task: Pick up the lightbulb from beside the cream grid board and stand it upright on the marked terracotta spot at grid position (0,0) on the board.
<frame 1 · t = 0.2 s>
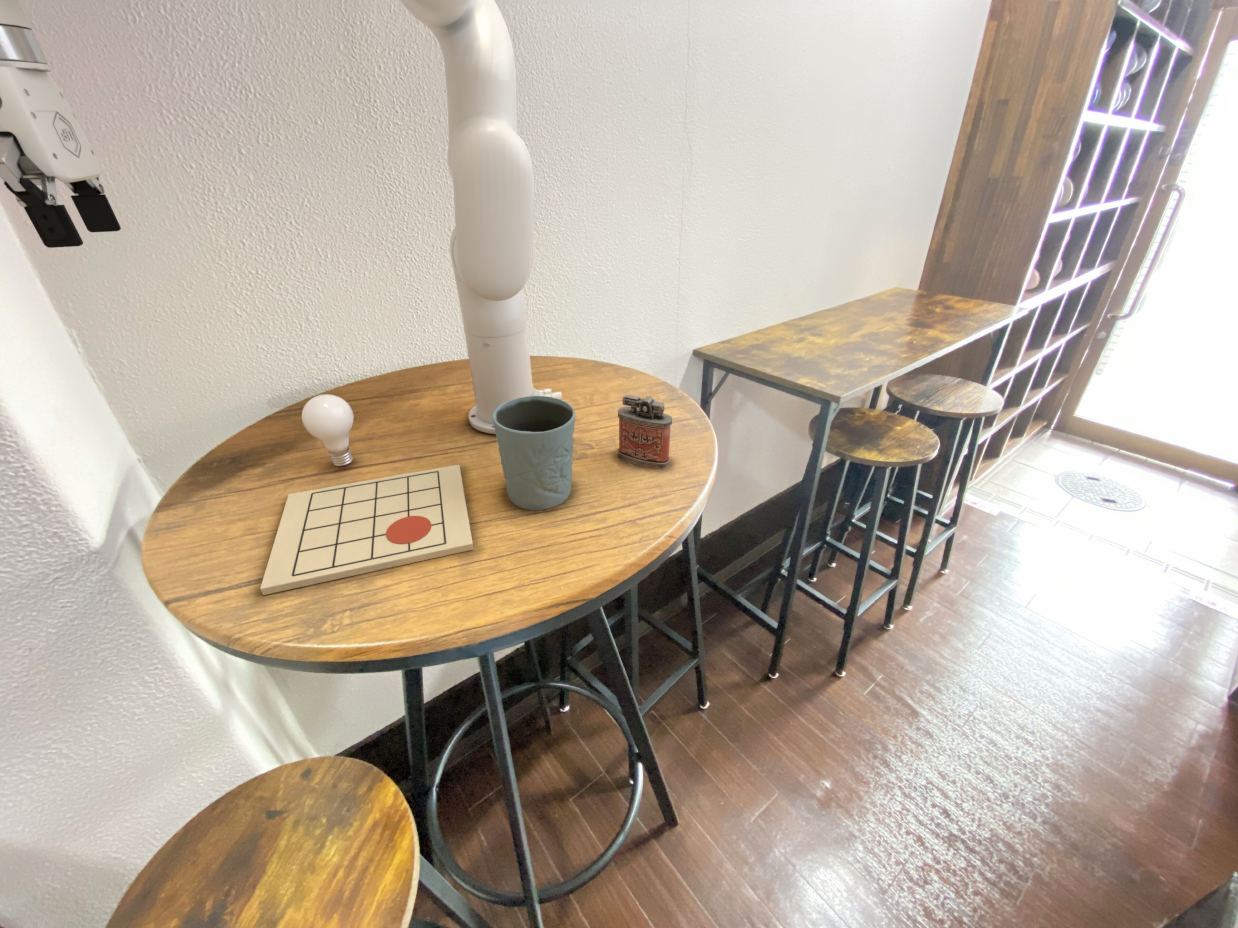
hand: (86, 238, 61), 31 cm above the table, tool pointing down, fingers open, 9 cm apart
board: (376, 523, 67), on the table
lightbulb: (344, 465, 78), on the table
grey green cup: (541, 492, 73), on the table
lighter: (643, 460, 79), on the table
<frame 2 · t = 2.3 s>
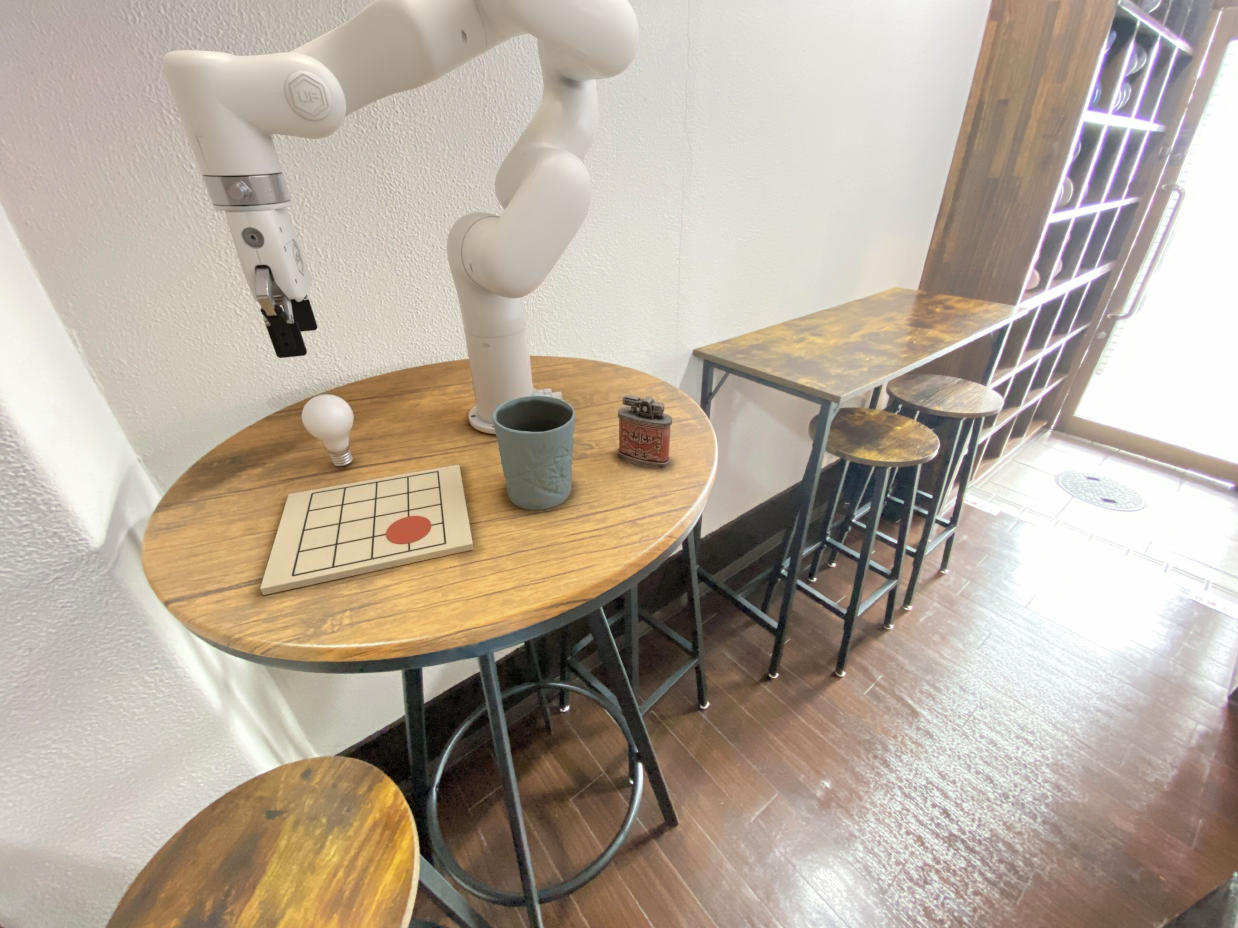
hand: (299, 342, 68), 19 cm above the table, tool pointing down, fingers open, 9 cm apart
nothing on the table moved.
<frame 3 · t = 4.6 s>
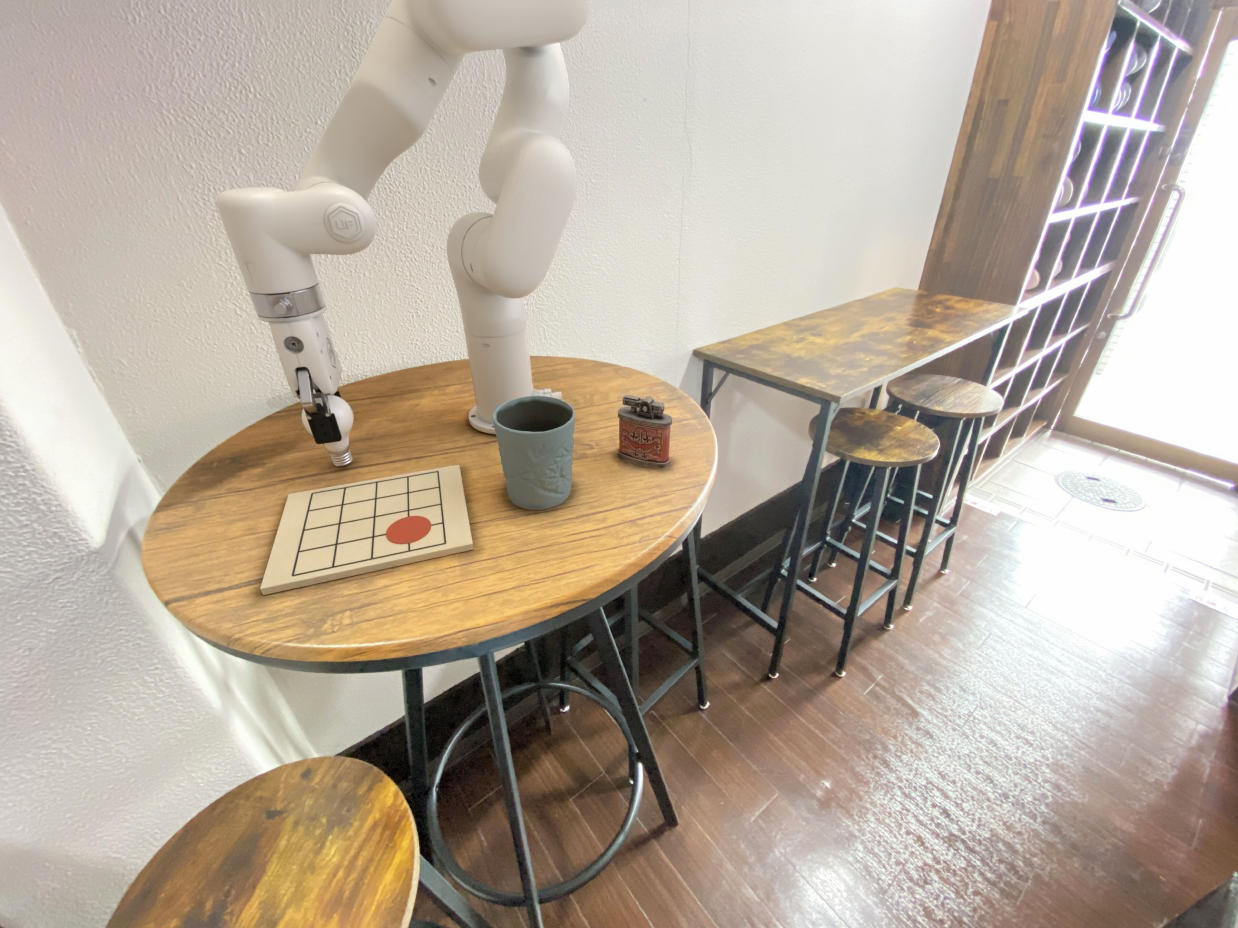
hand: (331, 428, 75), 6 cm above the table, tool pointing down, fingers closed on lightbulb, 6 cm apart
lightbulb: (344, 465, 78), on the table, touching gripper
everything else where it was.
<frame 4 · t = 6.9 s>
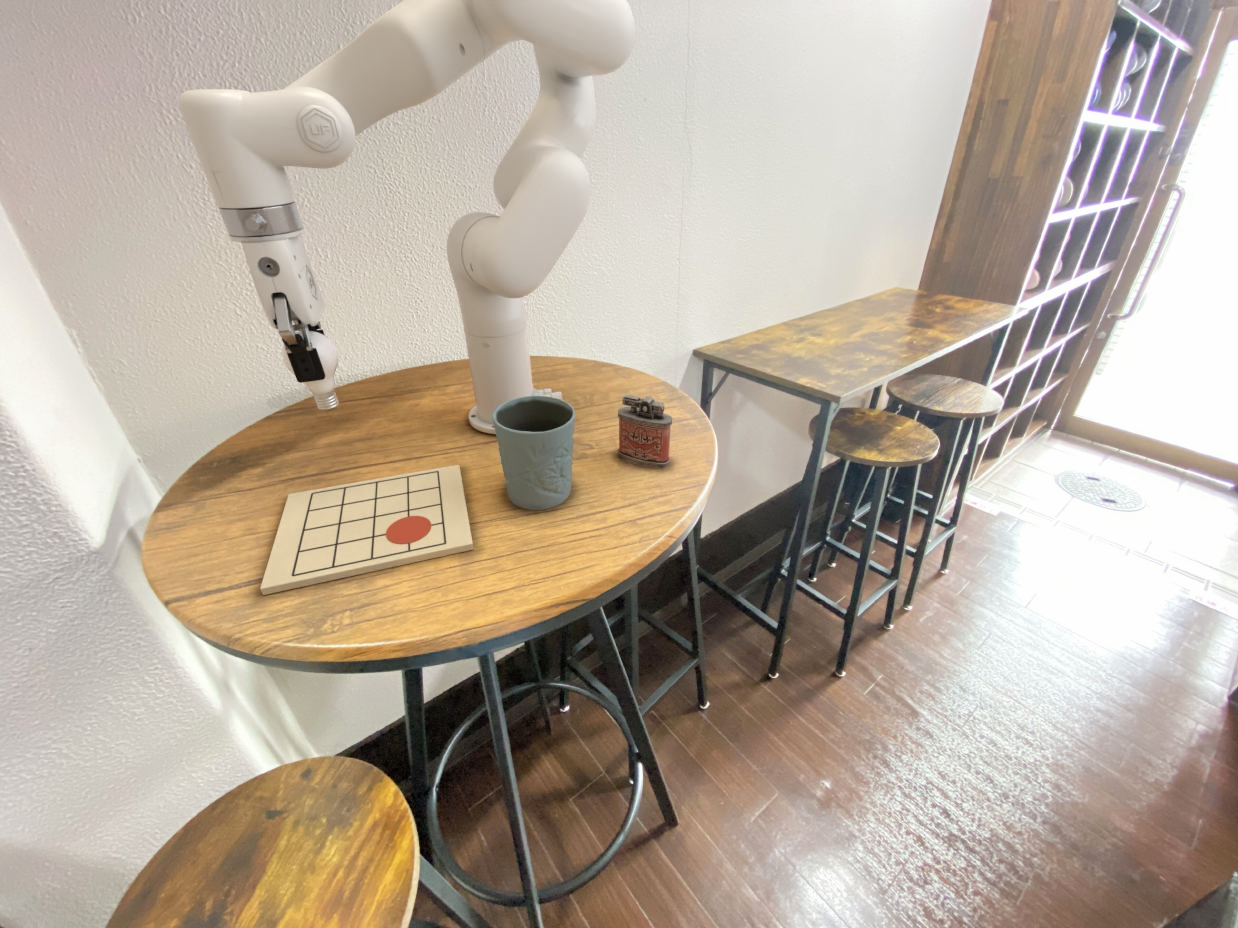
hand: (315, 368, 70), 15 cm above the table, tool pointing down, fingers closed on lightbulb, 6 cm apart
lightbulb: (330, 410, 74), point 9 cm above the table, touching gripper
everything else where it was.
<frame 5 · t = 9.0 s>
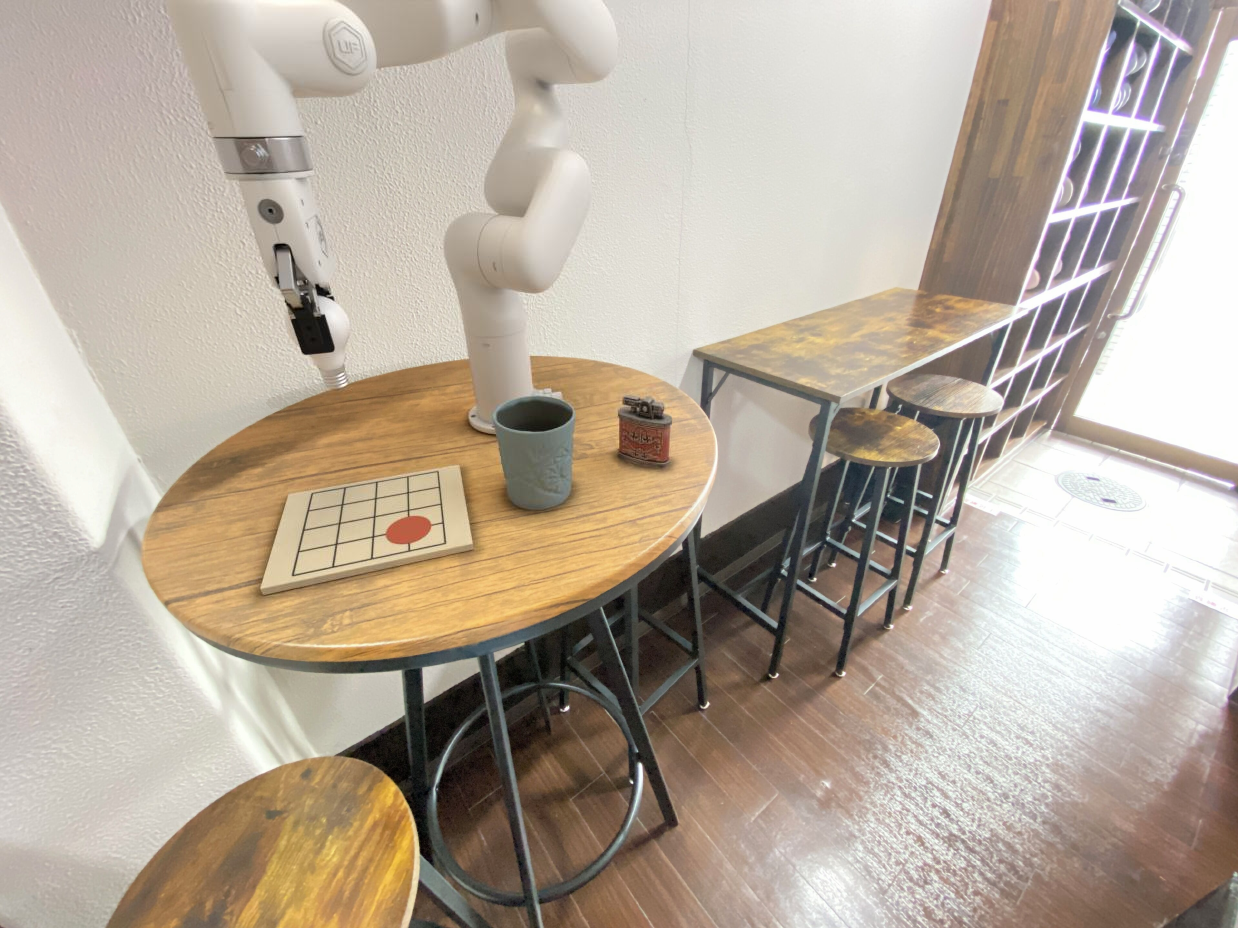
hand: (323, 340, 60), 22 cm above the table, tool pointing down, fingers closed on lightbulb, 6 cm apart
lightbulb: (339, 390, 64), point 15 cm above the table, touching gripper
everything else where it was.
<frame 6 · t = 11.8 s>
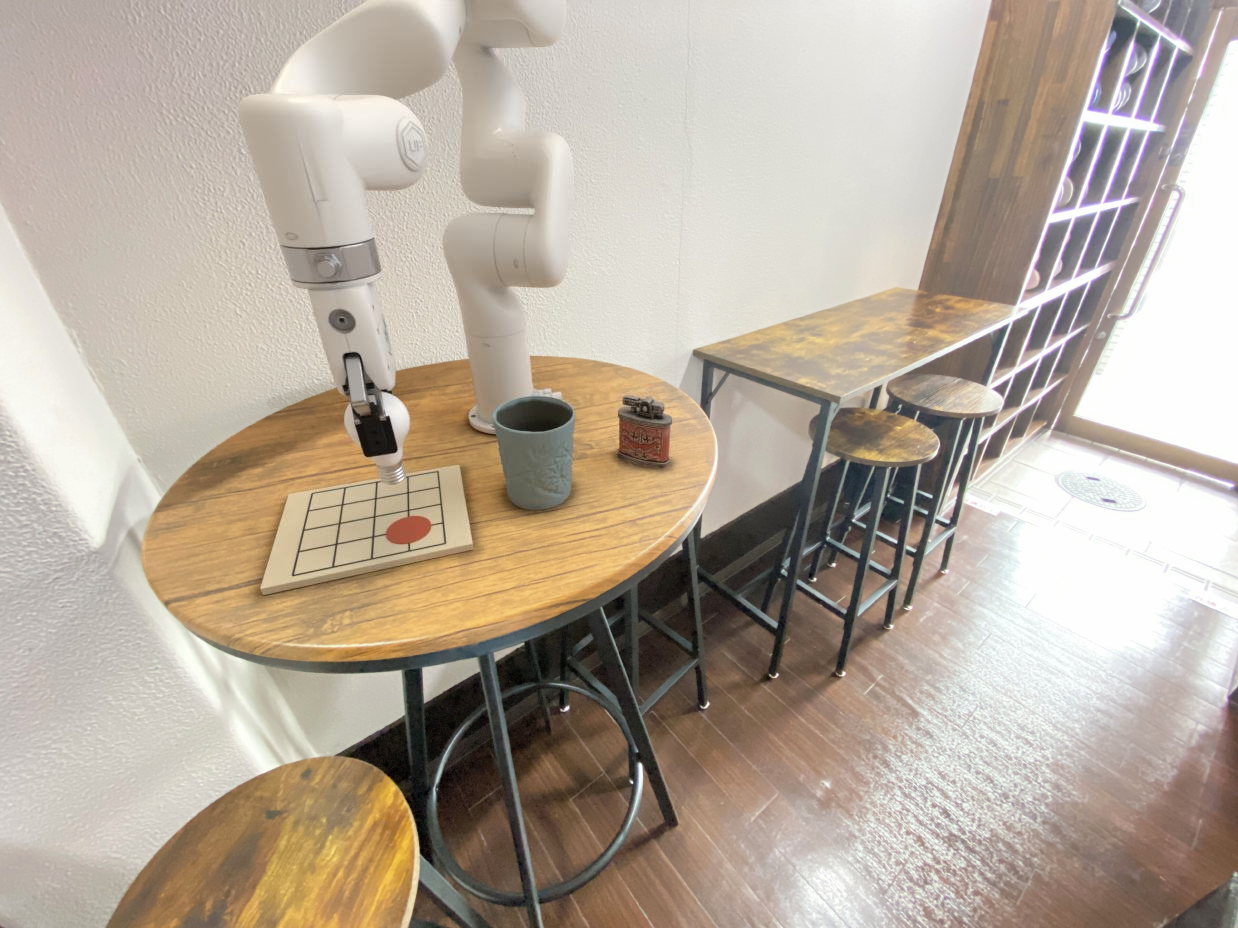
hand: (382, 436, 57), 14 cm above the table, tool pointing down, fingers closed on lightbulb, 6 cm apart
lightbulb: (395, 483, 60), point 8 cm above the table, touching gripper
everything else where it was.
when the fingers open (7 cm above the table, at t = 13.9 s): lightbulb stays where it is, resting on board.
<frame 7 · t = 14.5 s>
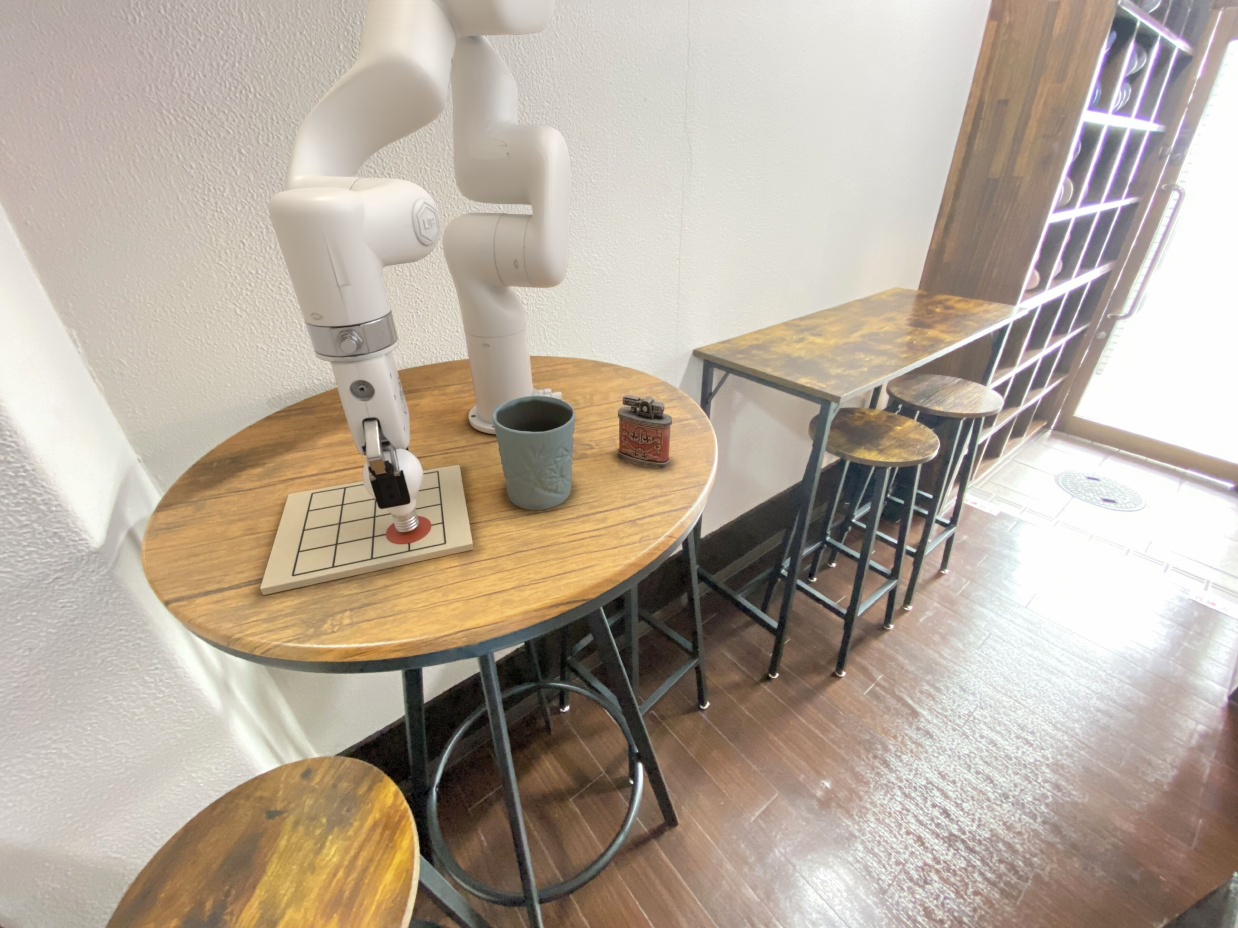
hand: (395, 480, 60), 8 cm above the table, tool pointing down, fingers open, 9 cm apart
lightbulb: (408, 530, 64), point 1 cm above the table, touching board
everything else where it was.
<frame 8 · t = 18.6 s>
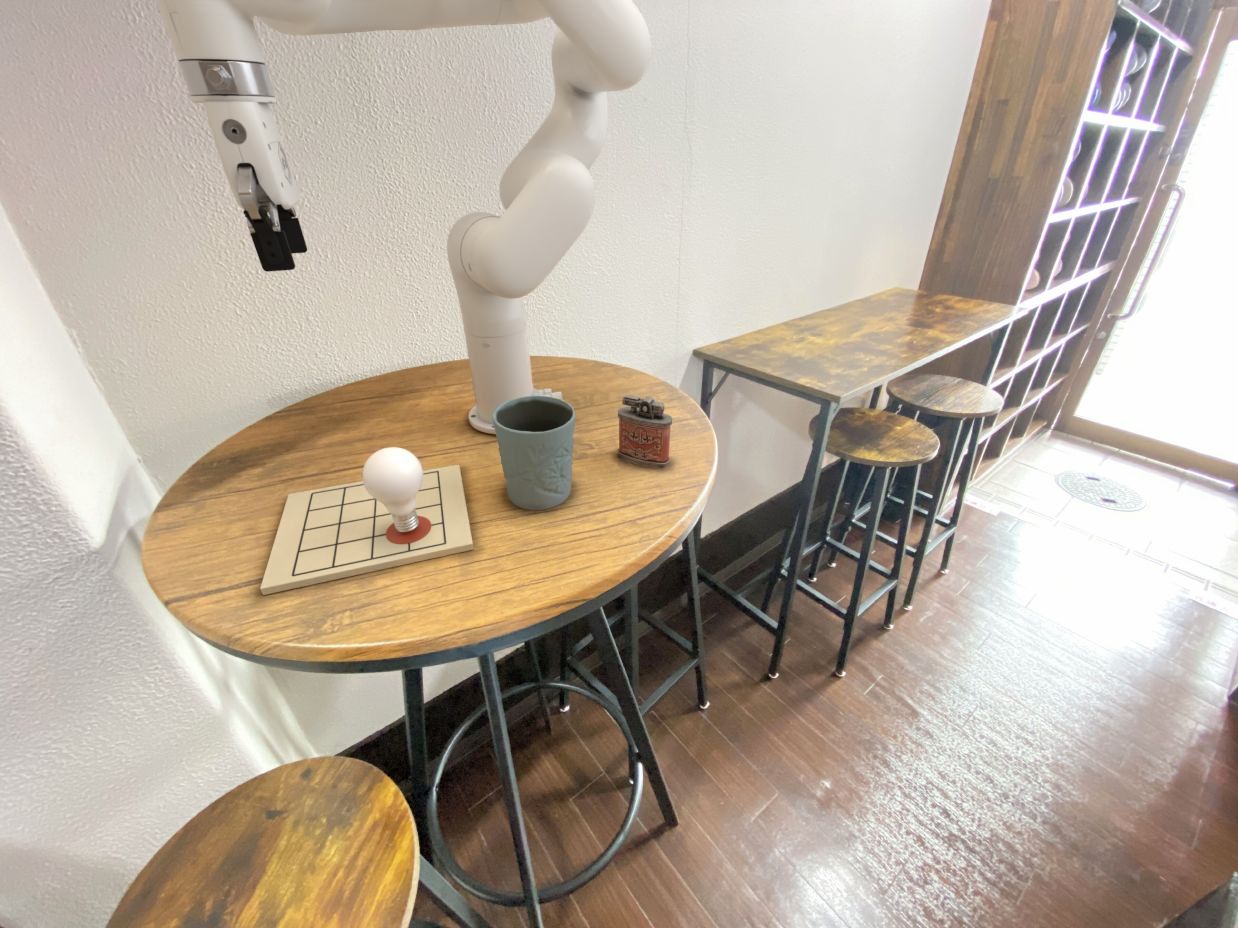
hand: (287, 261, 64), 28 cm above the table, tool pointing down, fingers open, 9 cm apart
nothing on the table moved.
at the end: lightbulb 0.0 cm from the target spot on the board, point 0.9 cm above the board's base; lightbulb tilted 0°; the gripper is holding nothing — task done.
